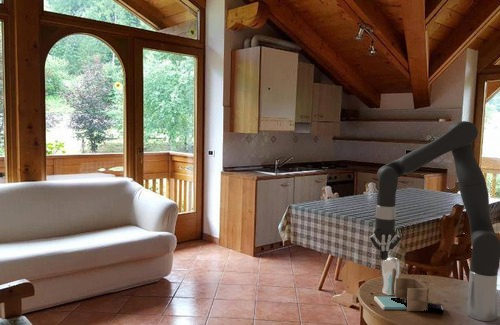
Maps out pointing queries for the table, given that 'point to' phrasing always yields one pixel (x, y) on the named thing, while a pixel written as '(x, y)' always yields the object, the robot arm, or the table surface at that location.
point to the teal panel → (389, 303)
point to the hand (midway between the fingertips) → (383, 259)
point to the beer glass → (390, 275)
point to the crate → (412, 293)
